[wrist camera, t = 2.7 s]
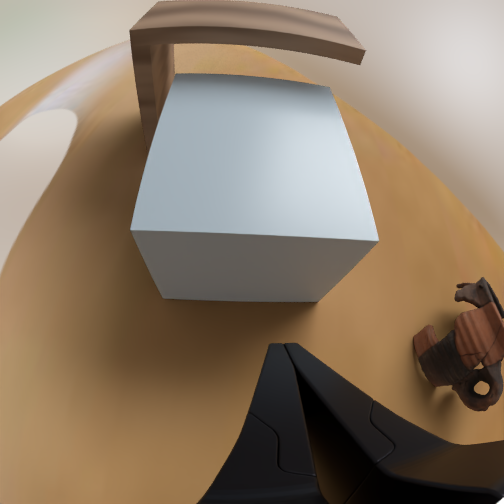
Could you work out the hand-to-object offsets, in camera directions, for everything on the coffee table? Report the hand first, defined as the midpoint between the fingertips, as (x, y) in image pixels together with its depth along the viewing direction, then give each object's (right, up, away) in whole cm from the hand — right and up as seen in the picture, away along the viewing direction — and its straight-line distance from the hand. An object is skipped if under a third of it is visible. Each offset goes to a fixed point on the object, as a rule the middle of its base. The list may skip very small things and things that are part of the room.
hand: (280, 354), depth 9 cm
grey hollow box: (-2, +6, +17) cm, 18 cm away
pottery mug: (+18, -7, +14) cm, 23 cm away
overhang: (-2, +15, +22) cm, 27 cm away
